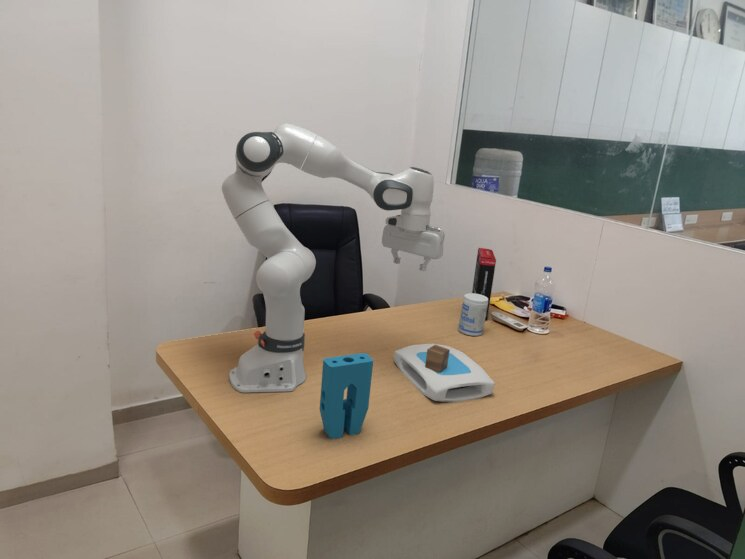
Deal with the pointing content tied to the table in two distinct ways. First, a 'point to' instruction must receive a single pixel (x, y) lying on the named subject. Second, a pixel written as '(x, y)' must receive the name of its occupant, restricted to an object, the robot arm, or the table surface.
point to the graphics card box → (484, 274)
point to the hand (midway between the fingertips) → (409, 266)
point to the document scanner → (444, 375)
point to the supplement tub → (473, 314)
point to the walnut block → (437, 358)
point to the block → (335, 380)
